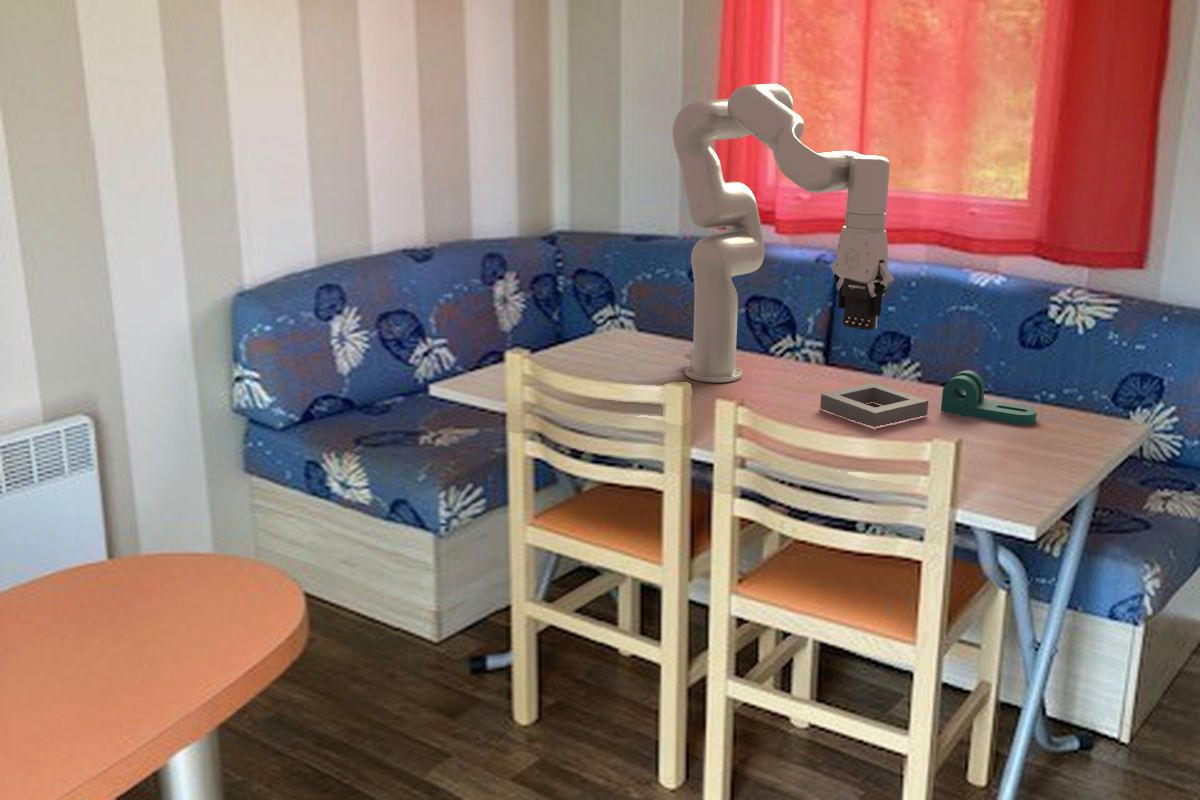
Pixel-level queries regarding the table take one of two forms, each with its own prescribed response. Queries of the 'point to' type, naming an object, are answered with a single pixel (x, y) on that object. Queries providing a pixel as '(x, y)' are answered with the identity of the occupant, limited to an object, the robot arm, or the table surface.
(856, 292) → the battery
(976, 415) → the bracket
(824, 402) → the frame
